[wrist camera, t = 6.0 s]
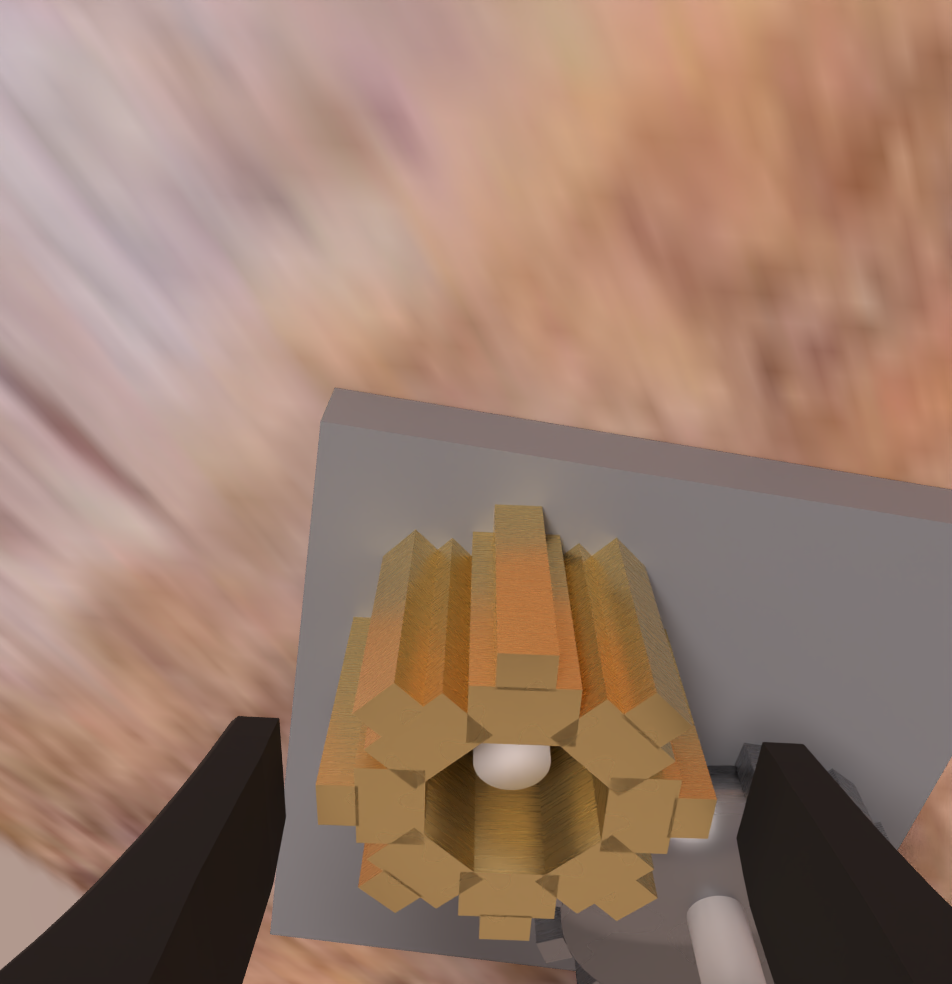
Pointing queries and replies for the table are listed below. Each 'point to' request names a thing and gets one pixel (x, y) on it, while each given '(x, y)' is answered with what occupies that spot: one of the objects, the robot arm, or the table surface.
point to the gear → (669, 898)
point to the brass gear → (512, 729)
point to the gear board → (683, 611)
